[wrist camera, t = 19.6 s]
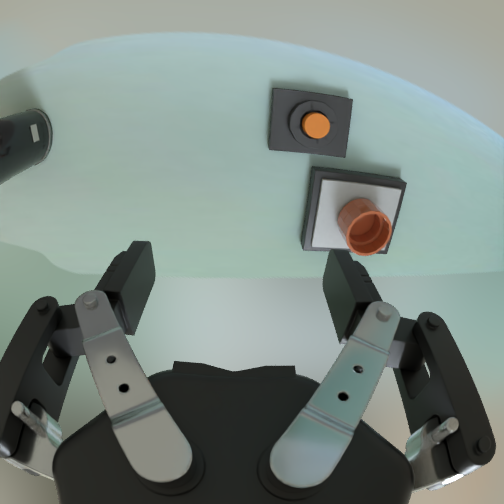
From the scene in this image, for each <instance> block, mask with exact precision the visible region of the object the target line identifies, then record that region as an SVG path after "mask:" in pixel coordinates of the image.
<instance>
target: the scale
mask: <svg viewBox="0 0 504 504" xmlns="http://www.w3.org/2000/svg"><path fill="white" fill-rule="evenodd" d="M406 184H407V183H406V182H405V181H403V180H402V179H400V178H394V177H388V176H382V175H376V174H369V173H363V172H356V171H348V170H340V169H332V168H323V167H312V171H311V179H310V186H309V193H308V200H307V207H306V214H305V221H304V227H303V233H302V240H301V245H302V248H303V250H308V251H330V250H331V249H341V250H348V252H352V251H351V250H350V248H349V247H348V246H347V244H346V242H345V240H344V239H343V237H342V235H341V233H340V231H339V228H338V224H337V221H338V216H339V213H340V212H341V210H342V209H343V207H344V206H345V205H346V204H348V203H349V202H350V201H352V200H355V199H359V198H363V199H369V200H371V201H372V202H374V203H375V204H376V205H377V206H378V207H379V208H380V209H381V210H382V211H383V212H384V213H385V214H386V215H387V217H388V218H389V220H390V222H391V226H392V233H391V236H390V240H389V241H388V243H387V244H386V245H385V247H384V248H383V249H381V250H380V251H378V252H377V253H376V254H387V251H388V248H389V245H390V242H391V239H392V235H393V232H394V229H395V225H396V222H397V218H398V215H399V211H400V208H401V204H402V200H403V196H404V192H405V188H406Z"/></svg>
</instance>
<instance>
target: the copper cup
mask: <svg viewBox="0 0 504 504" xmlns="http://www.w3.org/2000/svg"><path fill="white" fill-rule="evenodd" d="M337 224H338V228H339V231H340V233H341V235H342V237H343V239H344V240H345V242H346V244H347V246H348V247H349V248H350V250H351V251H352V252H354V253H356V254H358V255H363V256H369V255H372V254H375V253H377V252H378V251H380V250H381V249H383V248H384V247H385V245H386V244H387V243H388V241H389V240H390V236H391V233H392V226H391V222H390V220H389V218H388V217H387V215H386V214H385V213H384V212H383V211H382V210H381V209H380V208H379V207H378V206H377V205H376V204H375V203H374V202H372V201H371V200H369V199H363V198H359V199H355V200H352V201H350V202H349V203H348V204H346V205H345V206H344V207H343V209H342V210H341V212H340V213H339V216H338V221H337Z"/></svg>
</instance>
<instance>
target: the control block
mask: <svg viewBox="0 0 504 504" xmlns="http://www.w3.org/2000/svg"><path fill="white" fill-rule="evenodd" d="M352 102H353V99H349V98H344V97H339V96H333V95H327V94H320V93H314V92H306V91H298V90H289V89H279V88H273V92H272V107H271V121H270V134H269V150H276V151H289V152H300V153H310V154H319V155H328V156H336V157H343V158H345V155H346V149H347V142H348V135H349V127H350V119H351V111H352ZM312 112H316V113H319V114H322V115H324V116H325V117H326V118H327V119H328V120H329V123H330V129H329V132H328V134H327V135H326V136H324V137H322V138H313V137H311V136H309V135H308V134H306V133H305V132H304V130H303V128H302V120H303V118H304V117H305V116H306V115H307V114H309V113H312Z"/></svg>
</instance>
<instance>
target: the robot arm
mask: <svg viewBox="0 0 504 504" xmlns="http://www.w3.org/2000/svg"><path fill="white" fill-rule="evenodd" d="M51 144H52V129H51V124H50V122H49V119H48V118H47V116H46V115H45V114H44V113H43V112H42V111H40V110H38V109H30V110H26V111H24V112H21V113H17V114H13V115H10V116H7V117H4V118H0V185H1V184H2V183H4V182H6V181H7V180H9V179H11V178H12V177H14V176H16V175H17V174H19V173H21V172H23V171H24V170H26V169H28V168H30V167H32V166H34V165H37V164H39V163H40V162H42V161H43V160H44V159H45V158H46V156H47V155H48V153H49V151H50V148H51ZM154 281H155V266H154V259H153V253H152V246H151V243H150V242H149V241H133V242H132V244H131V245H130V247H129V248H128V250H127V251H122V252H121V253H120V254H118V255H117V256H116V257H115V258H114V259H113V261H112V262H111V264H110V266H109V267H108V268H107V270H106V272H105V273H104V275H103V277H102V278H101V280H100V281H99V283H98V285H97V286H96V288H95V289H94V290H91V291H87V292H85V293H83V294H82V295H81V296H79V297H78V298H77V300H76V301H75V304H71V305H64V306H59V304H58V302H57V300H56V299H55V298H54V297H51V296H46V297H42V298H40V299H38V300H37V301H35V302H34V303H33V304H32V306H31V307H30V309H29V310H28V312H27V314H26V315H25V317H24V319H23V320H22V322H21V324H20V326H19V327H18V329H17V331H16V333H15V334H14V336H13V338H12V340H11V342H10V344H9V346H8V348H7V349H6V351H5V353H4V356H3V357H2V360H1V362H0V457H1V458H2V459H4V460H5V461H7V462H8V463H10V464H12V465H13V466H15V467H17V468H19V469H22V470H24V471H25V472H28V473H29V474H31V475H34V476H39V475H43V476H45V477H47V478H50V479H52V480H54V482H55V486H56V489H57V494H58V499H59V504H408V503H409V500H410V497H411V494H412V493H414V492H417V491H420V490H423V489H428V490H437V489H439V488H441V487H443V486H446V485H448V484H450V483H452V482H454V481H456V480H458V479H460V478H462V477H464V476H466V475H467V474H469V473H471V472H473V471H475V470H477V469H478V468H480V467H482V466H484V465H485V464H487V463H488V462H490V461H491V459H492V458H493V456H494V454H495V449H496V443H495V438H494V435H493V433H492V429H491V426H490V423H489V420H488V417H487V414H486V412H485V409H484V406H483V404H482V401H481V398H480V396H479V394H478V391H477V388H476V386H475V384H474V382H473V379H472V377H471V374H470V372H469V370H468V368H467V365H466V363H465V361H464V359H463V357H462V355H461V353H460V351H459V349H458V347H457V345H456V343H455V341H454V339H453V337H452V335H451V333H450V331H449V329H448V328H447V325H446V323H445V322H444V320H443V319H442V318H441V317H440V316H438V315H436V314H435V313H432V312H423V313H421V314H420V315H419V317H418V319H417V320H412V319H407V318H403V317H400V314H399V312H398V311H397V309H396V308H395V307H394V306H392V305H391V304H389V303H386V302H383V301H382V299H381V297H380V295H379V293H378V291H377V289H376V287H375V285H374V284H373V283H372V280H371V278H370V277H369V274H368V272H367V270H366V269H365V267H364V266H362V265H361V264H360V263H359V262H358V261H353V259H352V257H351V255H350V254H349V252H348V250H341V249H331V250H330V252H329V255H328V259H327V264H326V268H325V272H324V276H323V291H324V294H325V297H326V300H327V303H328V307H329V310H330V313H331V317H332V320H333V323H334V327H335V330H336V333H337V337H338V340H339V343H340V344H345V346H344V348H343V349H342V351H341V353H340V354H339V356H338V358H337V359H336V361H335V363H334V364H333V366H332V367H331V369H330V370H329V372H328V374H327V375H326V377H325V378H324V380H323V381H322V383H321V384H320V383H318V382H316V381H314V380H313V379H310V378H308V377H305V376H301V375H297V374H296V372H295V366H263V367H258V368H252V369H247V370H242V371H233V372H232V371H229V370H225V369H221V368H217V367H214V366H210V365H207V364H202V363H191V362H179V361H174V364H173V369H172V370H166V371H162V372H159V373H156V374H153V375H151V376H149V377H146V375H145V373H144V371H143V370H142V368H141V366H140V364H139V362H138V360H137V358H136V356H135V354H134V352H133V350H132V349H131V347H130V344H129V342H128V340H127V338H126V336H125V334H126V335H134V334H135V332H136V329H137V326H138V324H139V320H140V318H141V315H142V313H143V310H144V308H145V305H146V302H147V300H148V297H149V295H150V292H151V290H152V287H153V284H154ZM47 346H48V347H49V350H48V352H47V355H46V357H45V359H44V362H43V364H42V358H43V354H44V352H45V350H46V348H47ZM80 355H86V358H87V361H88V364H89V367H90V370H91V373H92V376H93V379H94V381H95V384H96V387H97V389H98V392H99V395H100V397H101V399H102V402H103V404H104V407H105V410H104V411H103V412H101V413H100V414H99V415H98V416H96V417H95V418H94V419H92V420H91V421H90V422H88V423H87V424H86V425H84V426H83V427H82V428H80V429H79V430H78V431H76V432H75V433H74V434H72V435H71V436H69V437H68V438H67V439H66V440H64V441H63V439H62V430H61V427H60V425H59V424H58V419H59V416H60V413H61V409H62V406H63V402H64V399H65V396H66V393H67V390H68V387H69V384H70V381H71V378H72V375H73V372H74V369H75V366H76V364H77V361H78V358H79V356H80ZM425 362H426V363H427V366H428V369H429V371H430V378H429V375H428V372H427V370H426V367H425V365H424V363H425ZM385 367H391V368H393V371H394V374H395V377H396V381H397V384H398V387H399V391H400V394H401V398H402V401H403V405H404V409H405V413H406V417H407V420H408V425H409V429H410V433H411V436H410V437H409V438H408V440H407V443H406V452H405V455H404V454H403V453H402V452H401V451H399V450H398V449H397V448H396V447H394V446H393V445H392V444H391V443H390V442H388V441H387V440H386V439H385V438H383V437H382V436H381V435H380V434H379V433H377V432H376V431H375V430H374V429H373V428H371V427H370V426H369V425H368V424H367V423H365V422H364V421H363V420H362V419H361V418H362V416H363V413H364V412H365V410H366V407H367V405H368V403H369V401H370V399H371V397H372V395H373V393H374V391H375V388H376V386H377V384H378V382H379V379H380V377H381V375H382V372H383V370H384V368H385Z"/></svg>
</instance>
